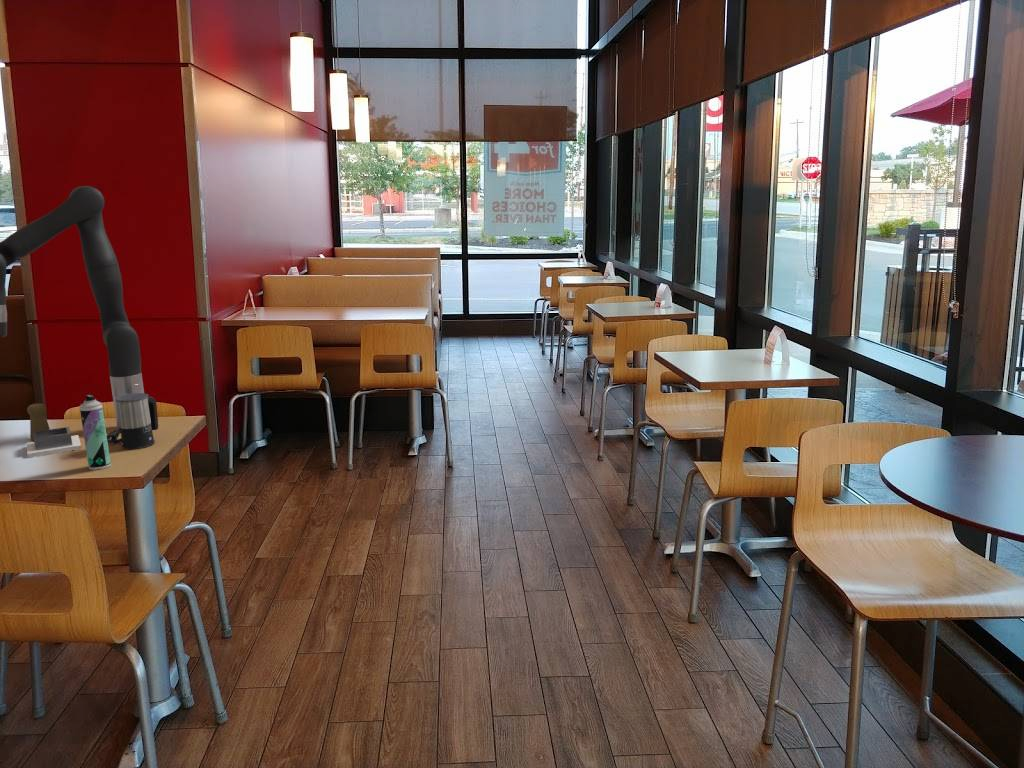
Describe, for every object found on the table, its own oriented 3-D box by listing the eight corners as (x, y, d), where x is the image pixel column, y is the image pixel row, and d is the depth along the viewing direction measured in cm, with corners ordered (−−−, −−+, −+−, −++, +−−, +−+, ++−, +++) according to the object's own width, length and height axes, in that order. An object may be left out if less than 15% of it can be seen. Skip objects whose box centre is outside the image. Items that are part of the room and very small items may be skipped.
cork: (43, 441, 276) (37, 406, 273) (25, 441, 277) (20, 406, 275) (56, 436, 281) (51, 401, 279) (39, 436, 283) (34, 401, 280)
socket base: (78, 438, 277) (78, 435, 277) (81, 449, 265) (81, 445, 265) (27, 446, 271) (26, 442, 271) (27, 457, 259) (27, 453, 258)
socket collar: (70, 437, 274) (68, 426, 273) (72, 444, 266) (70, 433, 265) (35, 443, 270) (33, 431, 269) (35, 450, 261) (33, 439, 261)
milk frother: (148, 449, 262) (142, 399, 259) (93, 452, 262) (85, 402, 258) (164, 435, 276) (158, 388, 273) (111, 438, 276) (105, 391, 272)
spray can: (93, 464, 249) (82, 393, 245) (113, 463, 249) (103, 392, 245) (85, 470, 244) (74, 398, 239) (106, 469, 244) (96, 397, 240)
